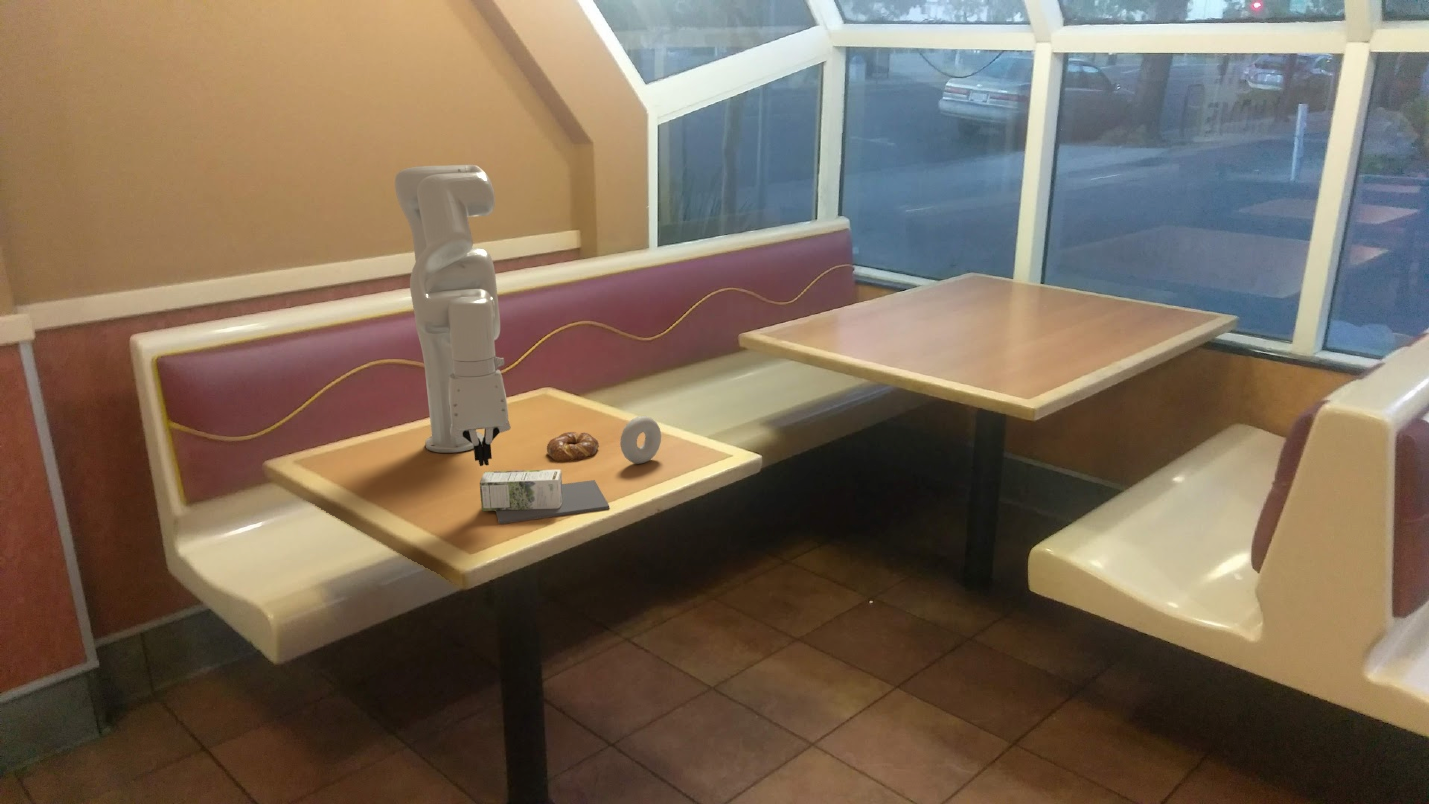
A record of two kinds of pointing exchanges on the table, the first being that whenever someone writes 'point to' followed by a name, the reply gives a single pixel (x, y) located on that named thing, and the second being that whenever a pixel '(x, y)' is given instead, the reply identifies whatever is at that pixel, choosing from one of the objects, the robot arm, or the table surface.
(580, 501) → the mat
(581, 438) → the pretzel
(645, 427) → the donut
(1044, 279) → the table surface
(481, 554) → the table surface
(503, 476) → the syrup box
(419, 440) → the table surface
